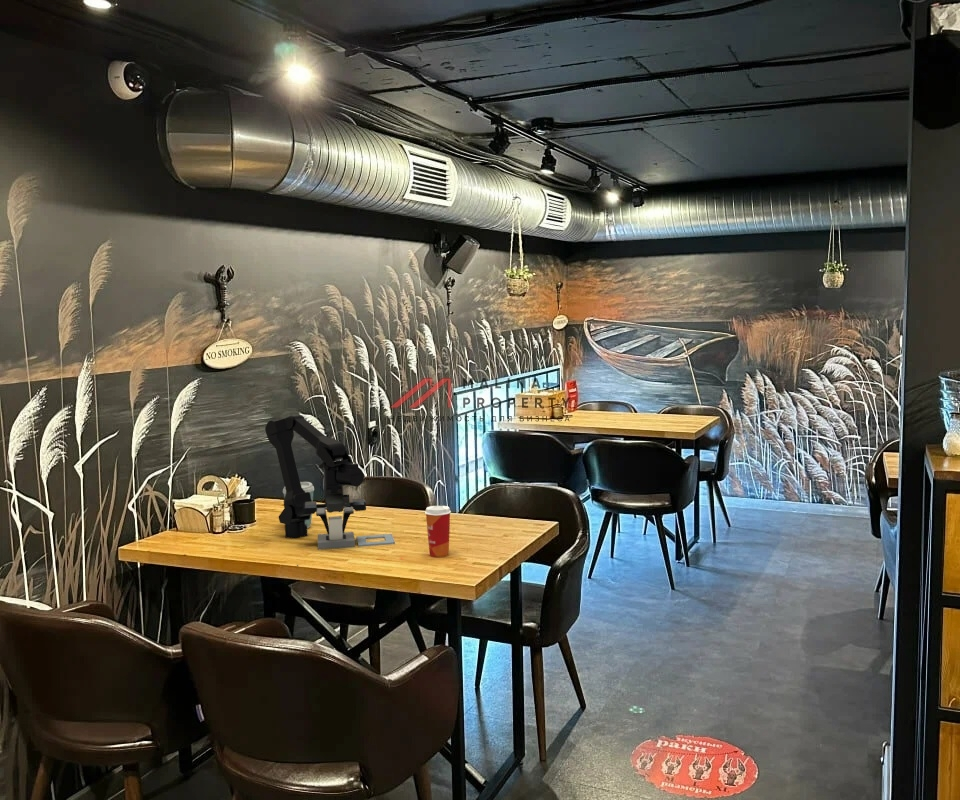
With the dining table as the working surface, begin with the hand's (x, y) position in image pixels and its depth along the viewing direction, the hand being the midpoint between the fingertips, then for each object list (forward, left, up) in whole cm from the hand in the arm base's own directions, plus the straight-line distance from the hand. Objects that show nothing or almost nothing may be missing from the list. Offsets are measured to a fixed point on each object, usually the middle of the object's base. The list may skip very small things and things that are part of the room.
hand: (335, 533), depth 257 cm
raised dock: (0, 0, -4) cm, 4 cm away
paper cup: (+30, -16, -5) cm, 34 cm away
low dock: (+12, 0, -4) cm, 13 cm away
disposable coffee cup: (-11, +32, -5) cm, 34 cm away
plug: (0, 0, -3) cm, 3 cm away
